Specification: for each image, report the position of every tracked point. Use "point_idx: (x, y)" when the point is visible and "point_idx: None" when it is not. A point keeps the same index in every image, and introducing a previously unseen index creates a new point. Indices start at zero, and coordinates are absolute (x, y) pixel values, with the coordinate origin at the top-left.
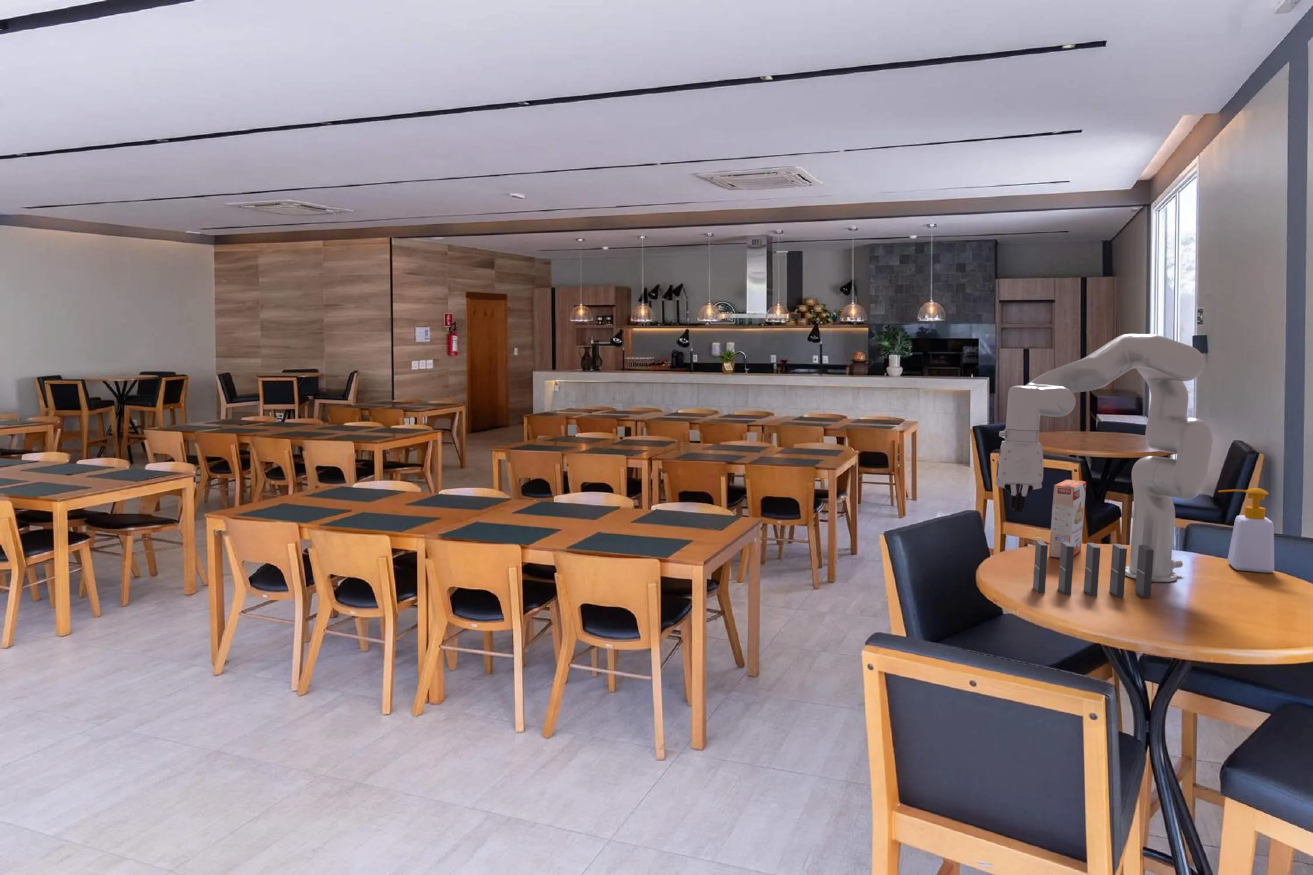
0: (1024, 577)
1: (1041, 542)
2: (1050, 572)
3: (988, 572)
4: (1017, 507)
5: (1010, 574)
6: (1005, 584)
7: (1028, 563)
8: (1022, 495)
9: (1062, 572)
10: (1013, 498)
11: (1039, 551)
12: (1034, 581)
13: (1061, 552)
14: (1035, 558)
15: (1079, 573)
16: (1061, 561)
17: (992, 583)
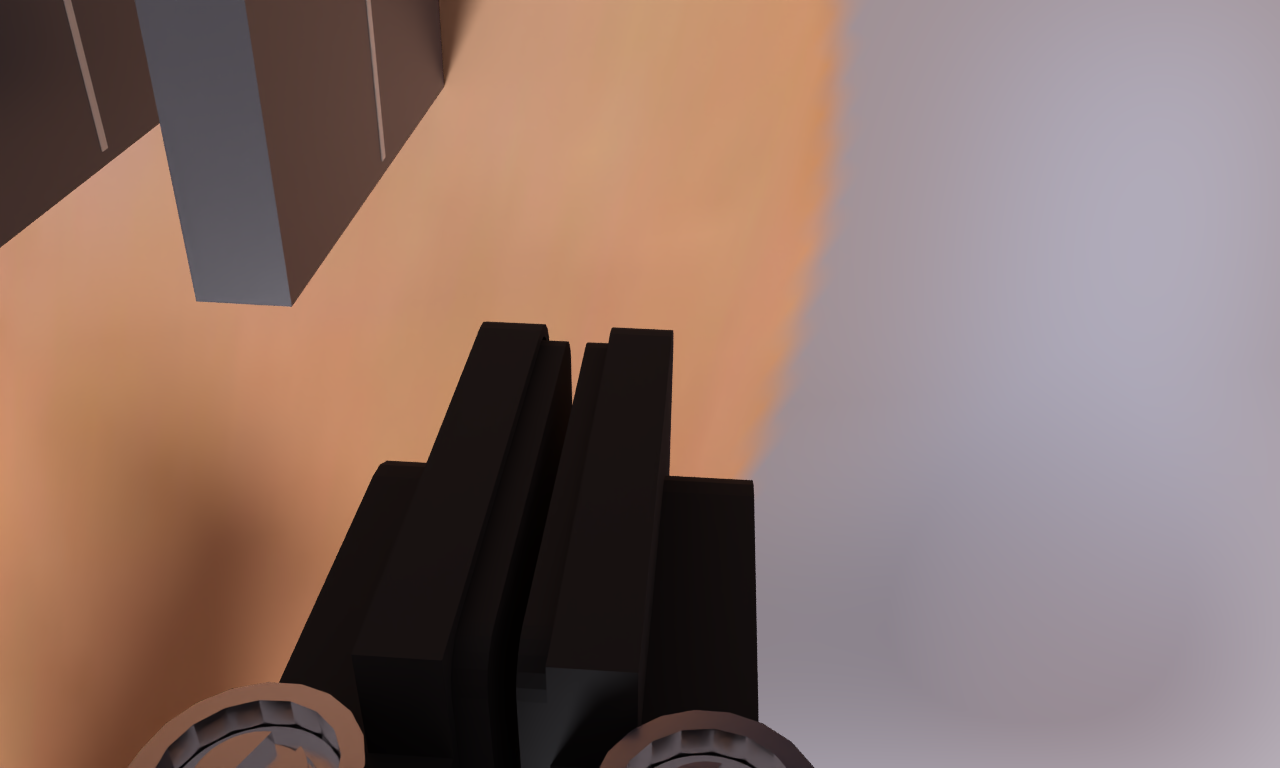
0: None
1: (221, 194)
2: (232, 559)
3: None
4: (586, 401)
5: None
6: (680, 166)
7: None
8: (339, 719)
9: (102, 23)
10: (693, 681)
11: (294, 31)
12: (424, 64)
13: (9, 185)
14: (360, 167)
15: (22, 556)
16: (61, 122)
17: (796, 184)
